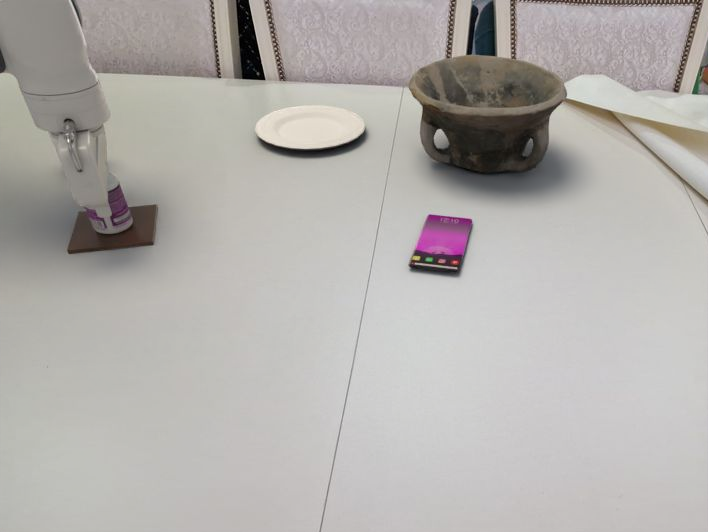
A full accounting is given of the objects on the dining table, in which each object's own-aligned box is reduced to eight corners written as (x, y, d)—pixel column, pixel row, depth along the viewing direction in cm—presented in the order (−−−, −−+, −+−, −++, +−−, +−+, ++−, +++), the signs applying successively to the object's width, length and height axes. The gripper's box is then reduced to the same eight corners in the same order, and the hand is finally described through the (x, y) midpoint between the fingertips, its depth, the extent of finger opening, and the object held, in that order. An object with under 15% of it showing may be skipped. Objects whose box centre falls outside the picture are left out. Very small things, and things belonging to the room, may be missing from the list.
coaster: (68, 254, 86) (66, 250, 85) (79, 215, 93) (78, 211, 93) (153, 244, 88) (152, 241, 88) (157, 207, 96) (156, 204, 96)
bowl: (407, 194, 103) (405, 104, 93) (412, 130, 123) (411, 50, 113) (564, 198, 105) (579, 110, 95) (544, 135, 125) (555, 56, 115)
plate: (347, 163, 111) (347, 153, 109) (237, 150, 112) (235, 140, 111) (378, 120, 126) (377, 110, 125) (280, 109, 128) (279, 100, 127)
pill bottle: (131, 214, 93) (110, 153, 87) (135, 230, 90) (114, 168, 83) (92, 221, 91) (67, 159, 85) (94, 238, 88) (69, 175, 81)
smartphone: (407, 269, 87) (407, 264, 86) (427, 217, 98) (427, 212, 97) (458, 276, 86) (458, 270, 85) (472, 222, 97) (472, 217, 97)
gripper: (95, 135, 73) (132, 236, 82) (96, 78, 87) (127, 170, 96) (35, 141, 71) (79, 244, 80) (45, 82, 85) (82, 175, 94)
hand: (105, 203), depth 88 cm, fingers closed on pill bottle, 5 cm apart
